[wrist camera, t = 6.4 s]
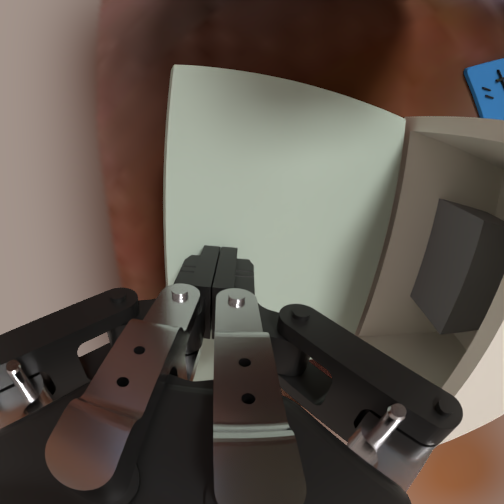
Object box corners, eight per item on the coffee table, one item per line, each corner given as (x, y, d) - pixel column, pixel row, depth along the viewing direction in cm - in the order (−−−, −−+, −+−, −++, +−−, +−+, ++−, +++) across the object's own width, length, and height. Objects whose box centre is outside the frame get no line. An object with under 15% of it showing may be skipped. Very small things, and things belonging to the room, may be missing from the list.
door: (406, 119, 14) (174, 64, 8) (350, 345, 20) (179, 390, 15) (379, 116, 15) (167, 75, 10) (334, 329, 22) (172, 365, 17)
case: (503, 160, 15) (605, 200, 4) (448, 331, 22) (504, 413, 11) (404, 116, 15) (552, 127, 4) (351, 337, 22) (396, 457, 11)
